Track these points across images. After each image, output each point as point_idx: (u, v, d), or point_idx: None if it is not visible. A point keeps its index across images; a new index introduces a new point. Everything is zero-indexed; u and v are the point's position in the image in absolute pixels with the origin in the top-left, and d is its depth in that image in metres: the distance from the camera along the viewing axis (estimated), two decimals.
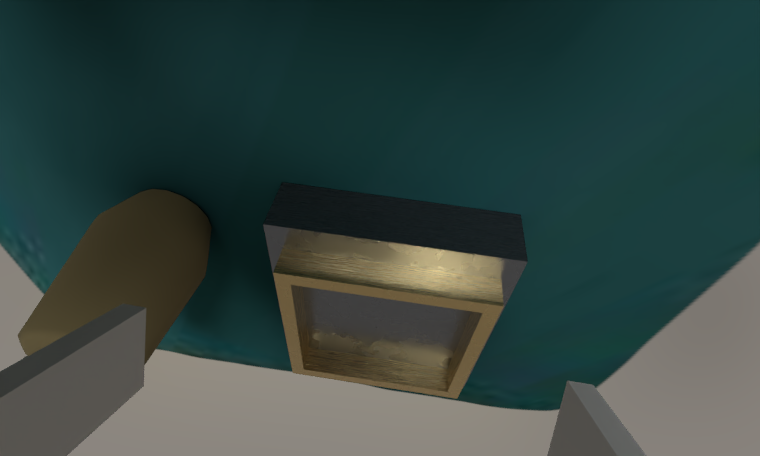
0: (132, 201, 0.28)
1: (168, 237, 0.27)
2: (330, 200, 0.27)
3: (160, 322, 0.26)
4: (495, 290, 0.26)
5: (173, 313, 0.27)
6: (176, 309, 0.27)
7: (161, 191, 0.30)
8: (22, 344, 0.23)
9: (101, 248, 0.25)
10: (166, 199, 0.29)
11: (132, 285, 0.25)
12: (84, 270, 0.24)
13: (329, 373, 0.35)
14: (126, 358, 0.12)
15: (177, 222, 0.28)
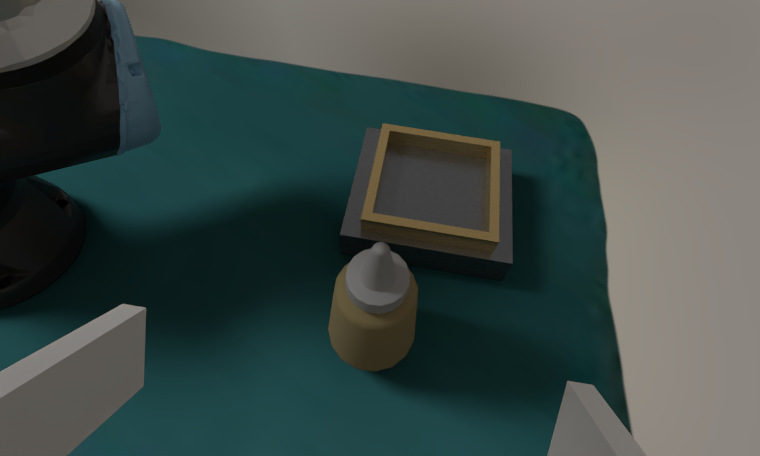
0: None
1: None
2: None
3: None
4: None
5: None
6: None
7: None
8: (349, 312, 0.30)
9: None
10: None
11: None
12: None
13: (490, 214, 0.43)
14: (126, 358, 0.12)
15: None
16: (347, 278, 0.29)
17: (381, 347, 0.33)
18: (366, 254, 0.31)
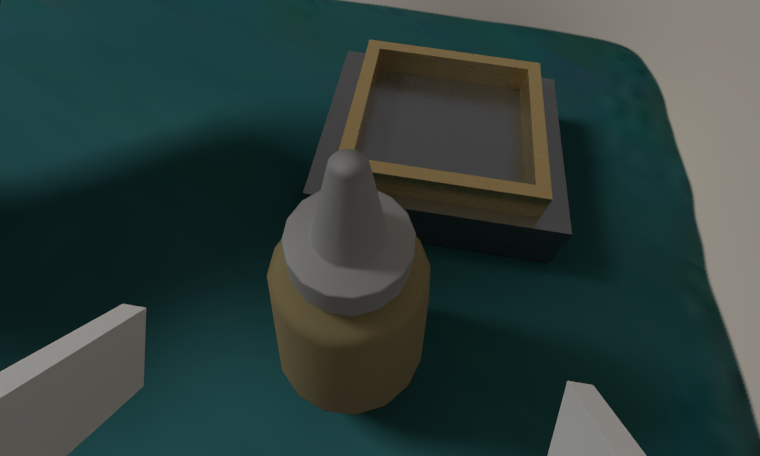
0: None
1: None
2: None
3: None
4: None
5: None
6: None
7: None
8: (294, 312, 0.15)
9: None
10: None
11: None
12: None
13: (535, 160, 0.28)
14: (126, 358, 0.12)
15: None
16: (284, 243, 0.14)
17: (362, 379, 0.17)
18: None
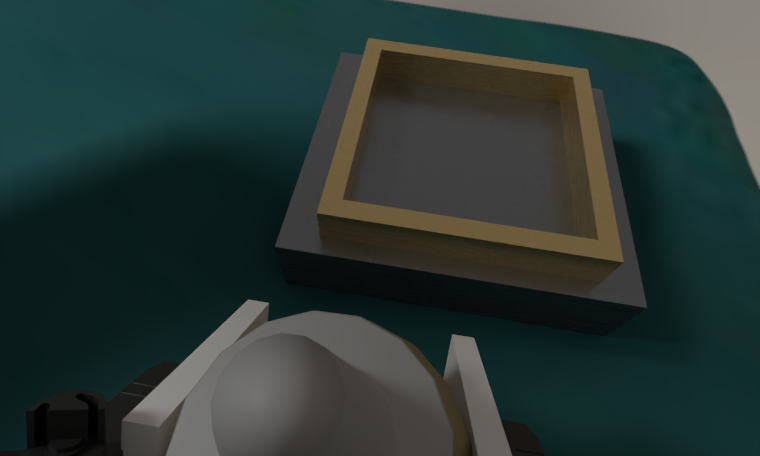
0: None
1: None
2: None
3: None
4: None
5: None
6: None
7: None
8: None
9: None
10: None
11: None
12: None
13: (594, 202, 0.20)
14: None
15: None
16: None
17: None
18: None
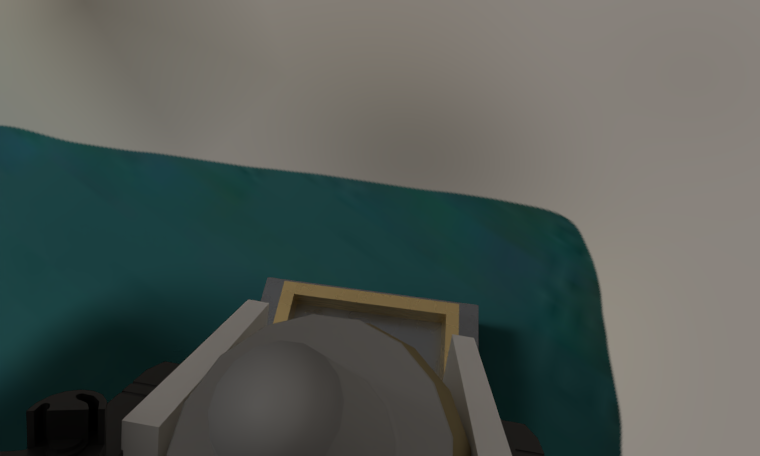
0: None
1: None
2: None
3: None
4: None
5: None
6: None
7: None
8: None
9: None
10: None
11: None
12: None
13: None
14: None
15: None
16: None
17: None
18: None
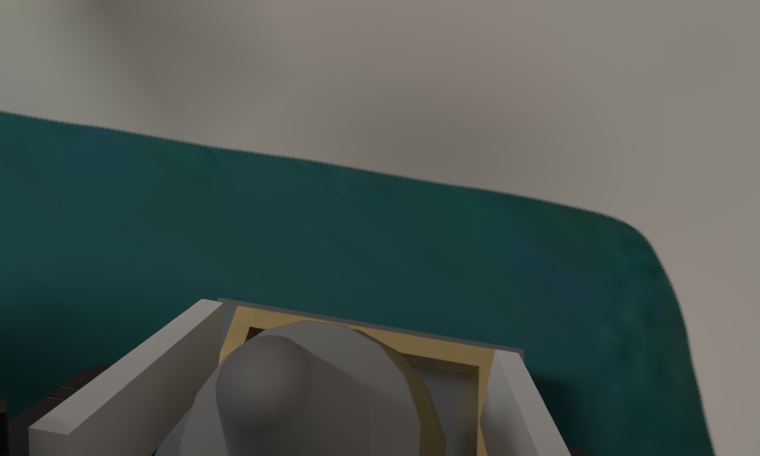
0: None
1: None
2: None
3: None
4: None
5: None
6: None
7: None
8: None
9: None
10: None
11: None
12: None
13: None
14: (209, 348, 0.13)
15: None
16: (183, 451, 0.08)
17: None
18: None
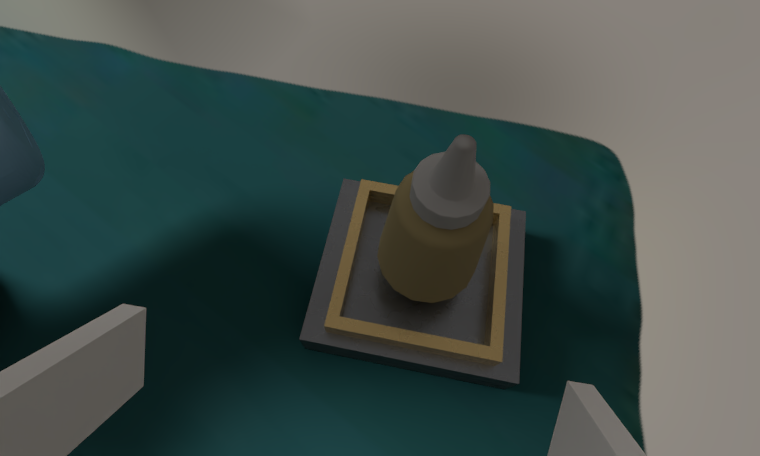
0: None
1: None
2: None
3: None
4: None
5: None
6: None
7: None
8: (414, 227, 0.26)
9: (383, 233, 0.32)
10: None
11: None
12: (386, 225, 0.30)
13: (493, 319, 0.34)
14: (126, 358, 0.12)
15: None
16: (414, 185, 0.24)
17: (446, 272, 0.28)
18: (436, 158, 0.25)
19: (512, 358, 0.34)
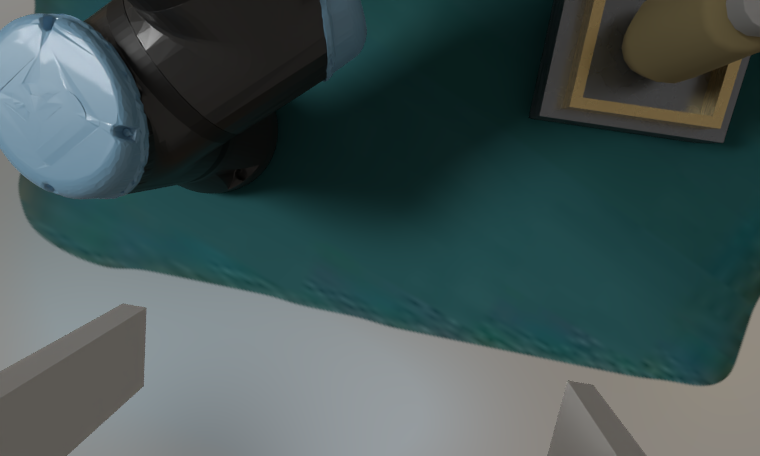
0: (625, 41, 0.38)
1: None
2: (538, 83, 0.44)
3: None
4: None
5: None
6: None
7: (624, 36, 0.39)
8: (720, 34, 0.29)
9: (651, 22, 0.34)
10: None
11: None
12: (664, 18, 0.32)
13: (721, 92, 0.38)
14: (126, 358, 0.12)
15: None
16: None
17: (719, 66, 0.32)
18: None
19: (722, 122, 0.41)
